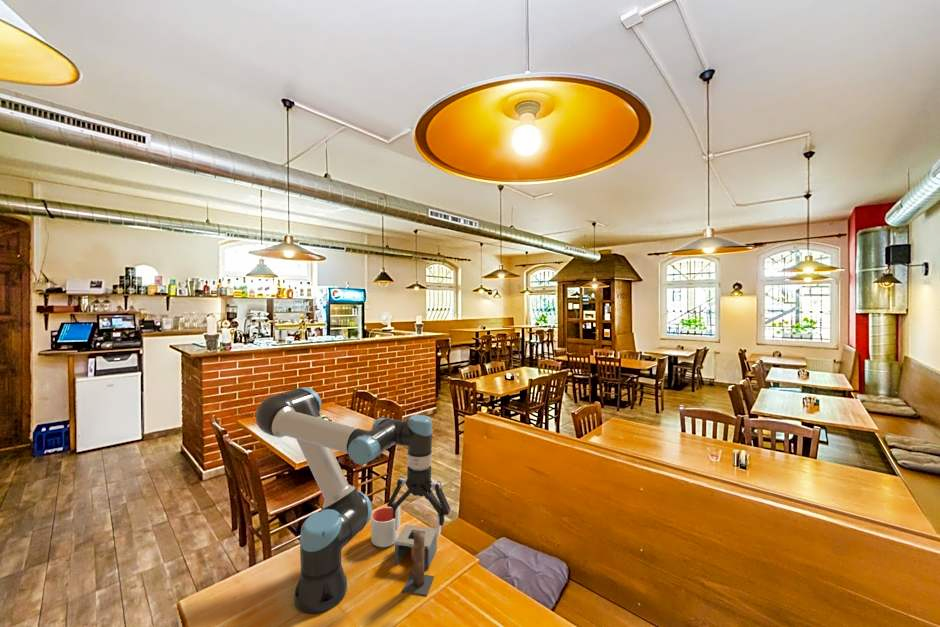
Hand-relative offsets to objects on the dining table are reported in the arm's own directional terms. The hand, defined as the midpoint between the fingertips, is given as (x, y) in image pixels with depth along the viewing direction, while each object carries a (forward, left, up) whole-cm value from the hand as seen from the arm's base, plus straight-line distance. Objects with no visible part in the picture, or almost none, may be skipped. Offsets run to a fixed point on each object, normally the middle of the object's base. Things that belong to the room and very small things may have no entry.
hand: (418, 531), depth 120 cm
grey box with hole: (-5, +12, -17) cm, 22 cm away
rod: (0, 0, -17) cm, 17 cm away
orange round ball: (-5, +12, -17) cm, 22 cm away
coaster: (0, 0, -17) cm, 17 cm away
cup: (-19, +18, -18) cm, 32 cm away
